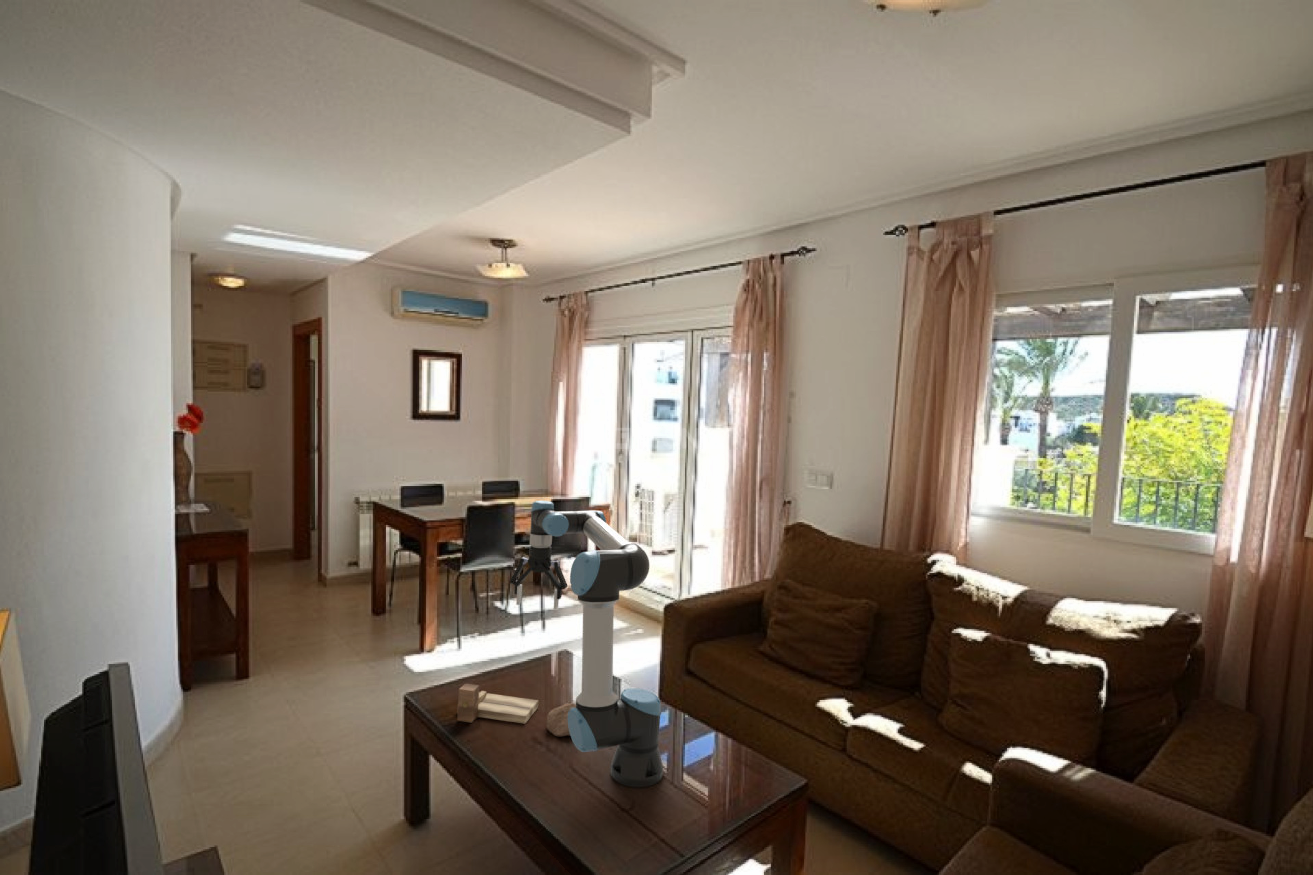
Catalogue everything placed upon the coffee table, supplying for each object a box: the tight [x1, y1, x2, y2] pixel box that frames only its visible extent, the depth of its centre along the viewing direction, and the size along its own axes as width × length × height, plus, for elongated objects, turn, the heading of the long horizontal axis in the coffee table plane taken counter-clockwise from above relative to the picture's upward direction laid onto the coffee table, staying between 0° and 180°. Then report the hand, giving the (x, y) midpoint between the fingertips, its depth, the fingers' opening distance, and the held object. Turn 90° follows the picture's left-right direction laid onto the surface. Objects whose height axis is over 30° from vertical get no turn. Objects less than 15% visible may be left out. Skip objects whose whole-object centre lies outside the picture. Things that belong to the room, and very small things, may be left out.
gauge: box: [456, 683, 487, 724], centre depth 212 cm, size 15×5×10 cm, turn 170°
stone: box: [546, 702, 576, 737], centre depth 204 cm, size 12×9×10 cm
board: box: [456, 691, 539, 725], centre depth 214 cm, size 12×24×3 cm, turn 80°
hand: (537, 605), depth 220 cm, fingers open, 13 cm apart
